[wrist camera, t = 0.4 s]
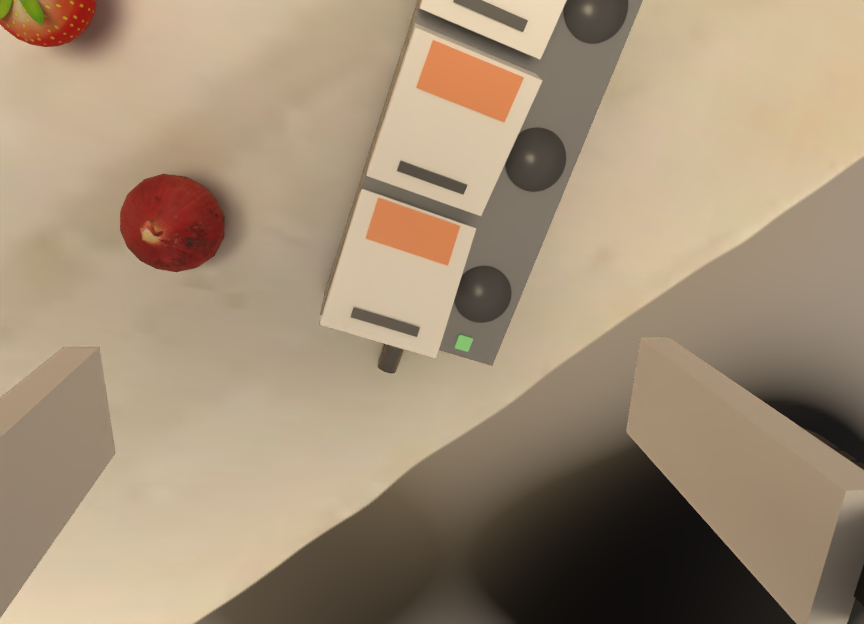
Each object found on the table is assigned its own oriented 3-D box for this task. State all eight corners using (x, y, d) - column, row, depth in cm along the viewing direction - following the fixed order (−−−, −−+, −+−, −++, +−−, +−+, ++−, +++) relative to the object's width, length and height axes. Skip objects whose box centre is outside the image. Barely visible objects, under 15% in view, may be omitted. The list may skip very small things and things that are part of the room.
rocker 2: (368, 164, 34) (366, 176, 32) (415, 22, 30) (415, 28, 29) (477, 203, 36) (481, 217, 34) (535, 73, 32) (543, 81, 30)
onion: (249, 198, 39) (224, 217, 32) (213, 271, 41) (179, 305, 33) (165, 153, 38) (118, 161, 30) (130, 230, 39) (76, 256, 31)
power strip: (308, 342, 43) (300, 376, 37) (455, -119, 35) (474, -165, 29) (459, 385, 45) (473, 423, 40) (627, -36, 38) (675, -64, 32)
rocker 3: (319, 322, 35) (319, 325, 33) (359, 193, 35) (362, 188, 33) (429, 354, 36) (436, 359, 34) (467, 231, 36) (476, 228, 34)
